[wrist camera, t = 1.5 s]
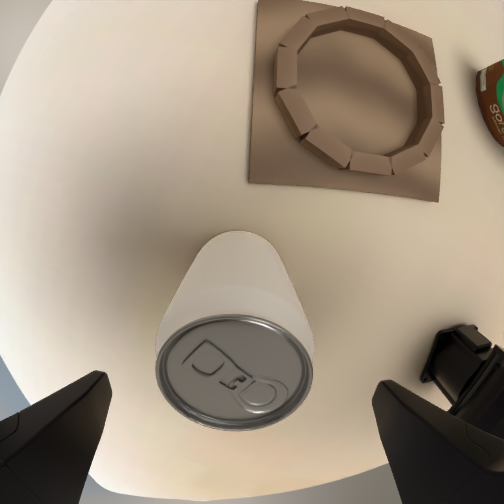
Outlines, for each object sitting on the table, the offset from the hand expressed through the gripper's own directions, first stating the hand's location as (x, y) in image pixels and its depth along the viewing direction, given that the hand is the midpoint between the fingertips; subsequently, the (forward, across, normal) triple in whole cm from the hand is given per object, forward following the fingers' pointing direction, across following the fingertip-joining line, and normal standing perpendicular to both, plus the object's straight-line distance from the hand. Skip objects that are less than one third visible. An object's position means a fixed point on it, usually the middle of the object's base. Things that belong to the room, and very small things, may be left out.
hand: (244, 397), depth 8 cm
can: (+13, 0, 0) cm, 13 cm away
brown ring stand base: (+13, -8, -14) cm, 20 cm away
